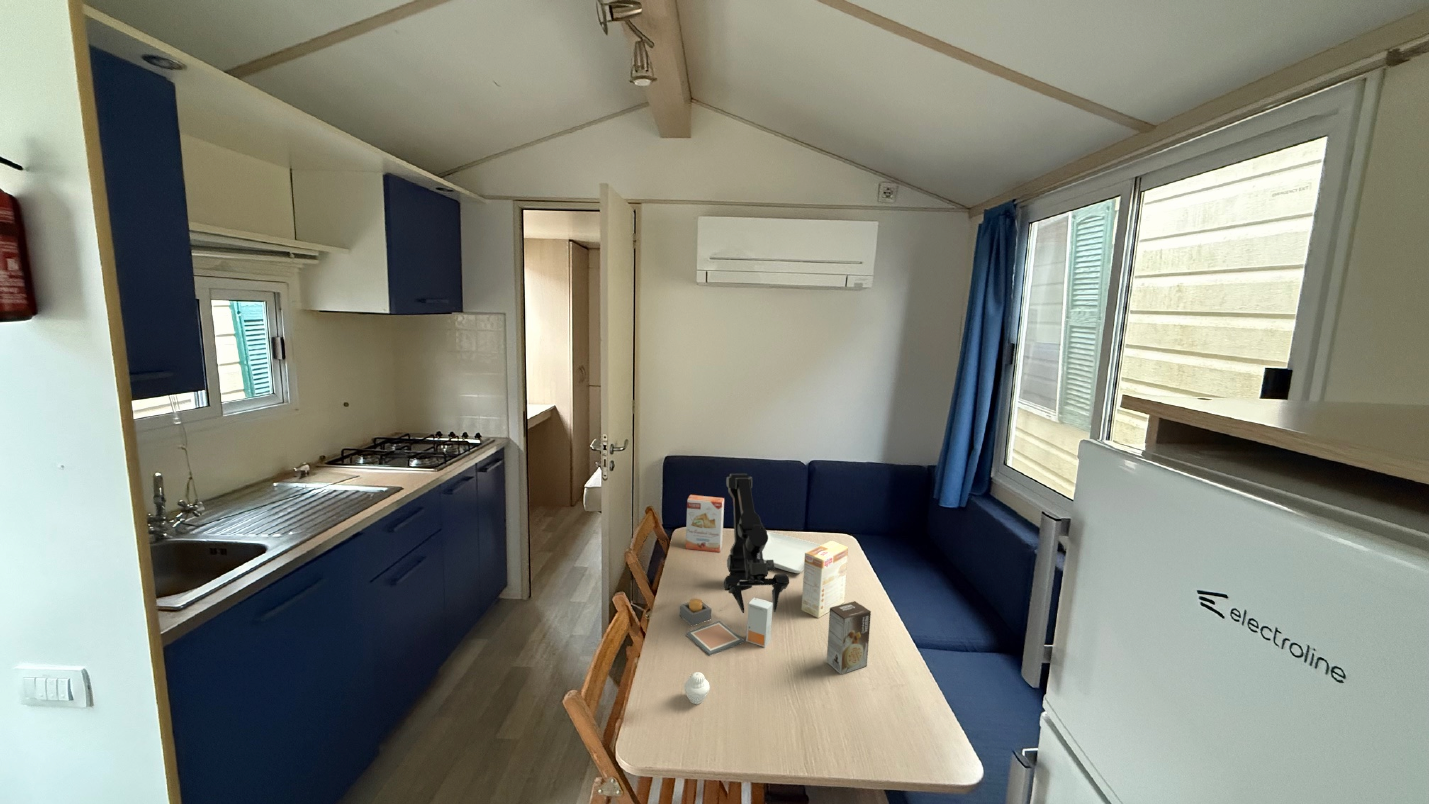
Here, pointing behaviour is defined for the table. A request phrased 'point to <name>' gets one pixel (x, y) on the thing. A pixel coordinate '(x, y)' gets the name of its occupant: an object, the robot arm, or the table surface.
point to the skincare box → (759, 622)
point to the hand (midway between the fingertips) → (759, 612)
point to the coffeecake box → (824, 578)
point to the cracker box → (704, 523)
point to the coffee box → (848, 637)
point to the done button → (695, 605)
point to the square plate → (787, 551)
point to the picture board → (714, 637)
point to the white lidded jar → (696, 688)
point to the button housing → (695, 614)
